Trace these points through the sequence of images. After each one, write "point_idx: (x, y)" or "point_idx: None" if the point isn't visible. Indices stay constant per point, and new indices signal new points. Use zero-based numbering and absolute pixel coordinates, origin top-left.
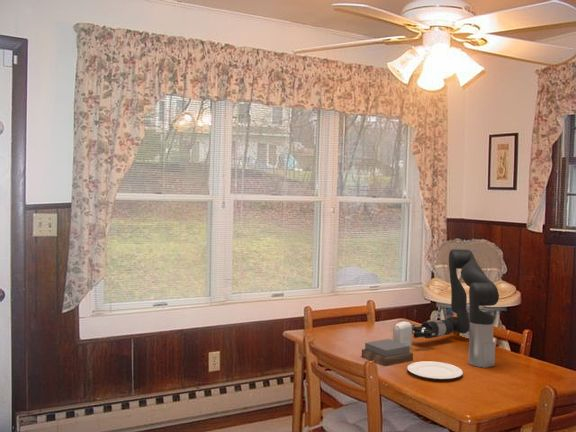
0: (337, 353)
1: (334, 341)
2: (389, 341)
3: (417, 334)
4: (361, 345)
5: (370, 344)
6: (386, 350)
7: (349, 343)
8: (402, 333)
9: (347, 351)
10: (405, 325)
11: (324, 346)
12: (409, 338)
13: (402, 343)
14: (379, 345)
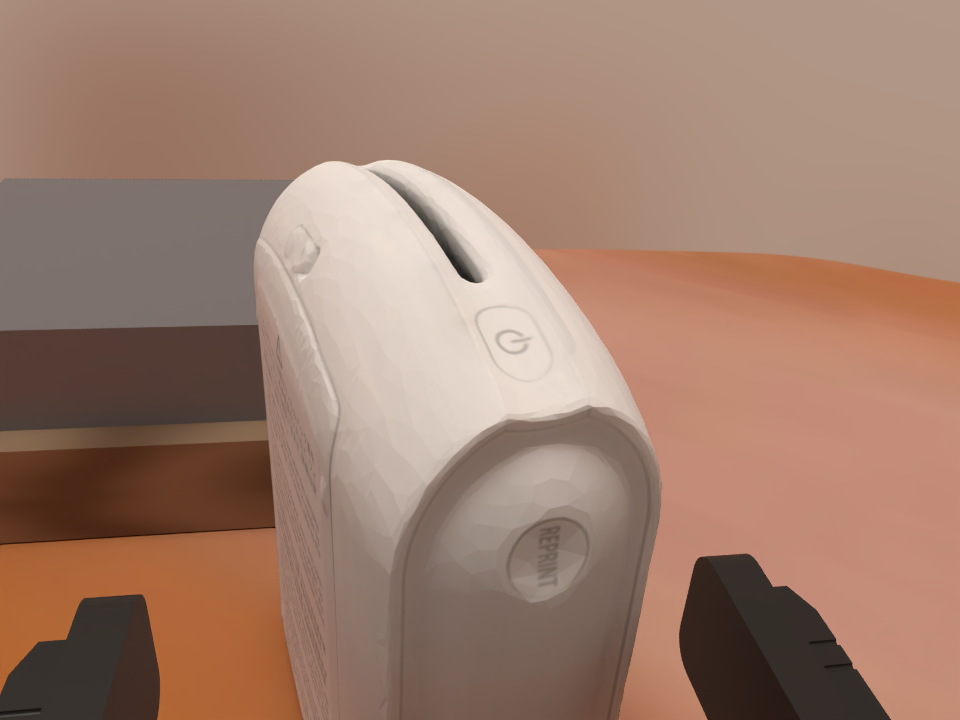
0: (540, 253)
1: (942, 334)
2: (238, 285)
3: (16, 682)
4: (772, 425)
5: (272, 182)
6: (2, 184)
7: (866, 382)
8: (262, 368)
9: (572, 296)
10: (290, 266)
11: (759, 260)
12: (332, 710)
13: (279, 552)
14: (181, 199)
